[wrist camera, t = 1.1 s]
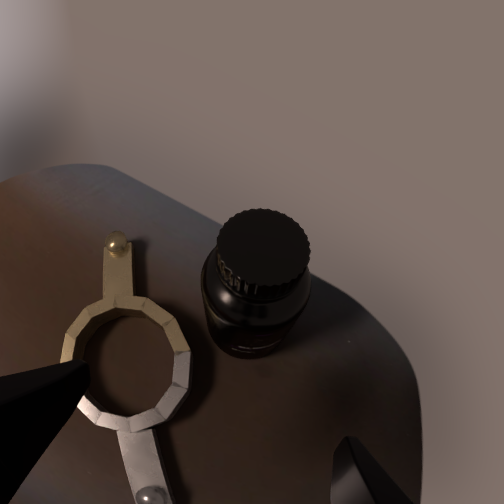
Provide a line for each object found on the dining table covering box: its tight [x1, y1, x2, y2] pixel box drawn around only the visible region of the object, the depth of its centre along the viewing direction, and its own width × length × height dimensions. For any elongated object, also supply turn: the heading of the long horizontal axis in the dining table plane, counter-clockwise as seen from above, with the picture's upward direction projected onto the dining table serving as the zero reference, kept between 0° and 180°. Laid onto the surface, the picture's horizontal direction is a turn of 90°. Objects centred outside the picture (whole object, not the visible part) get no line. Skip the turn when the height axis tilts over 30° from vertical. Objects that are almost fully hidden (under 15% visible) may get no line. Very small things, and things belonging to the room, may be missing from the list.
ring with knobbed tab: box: [60, 231, 193, 363], centre depth 23 cm, size 13×12×2 cm
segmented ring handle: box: [77, 350, 194, 504], centre depth 16 cm, size 17×12×2 cm
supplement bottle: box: [201, 208, 311, 359], centre depth 19 cm, size 7×7×12 cm
